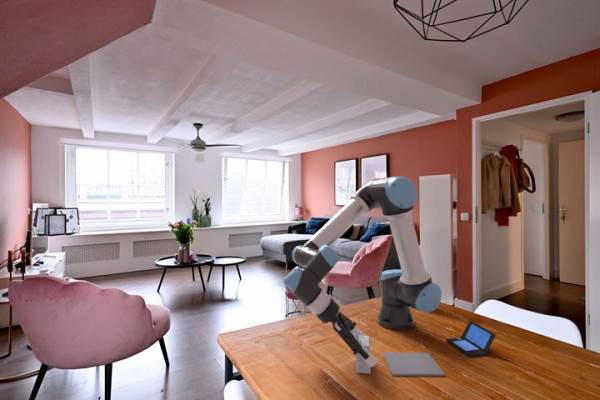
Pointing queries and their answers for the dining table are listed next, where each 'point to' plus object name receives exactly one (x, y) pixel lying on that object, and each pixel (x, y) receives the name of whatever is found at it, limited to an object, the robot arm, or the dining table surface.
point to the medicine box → (361, 363)
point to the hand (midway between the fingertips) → (370, 352)
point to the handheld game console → (473, 340)
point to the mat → (412, 364)
